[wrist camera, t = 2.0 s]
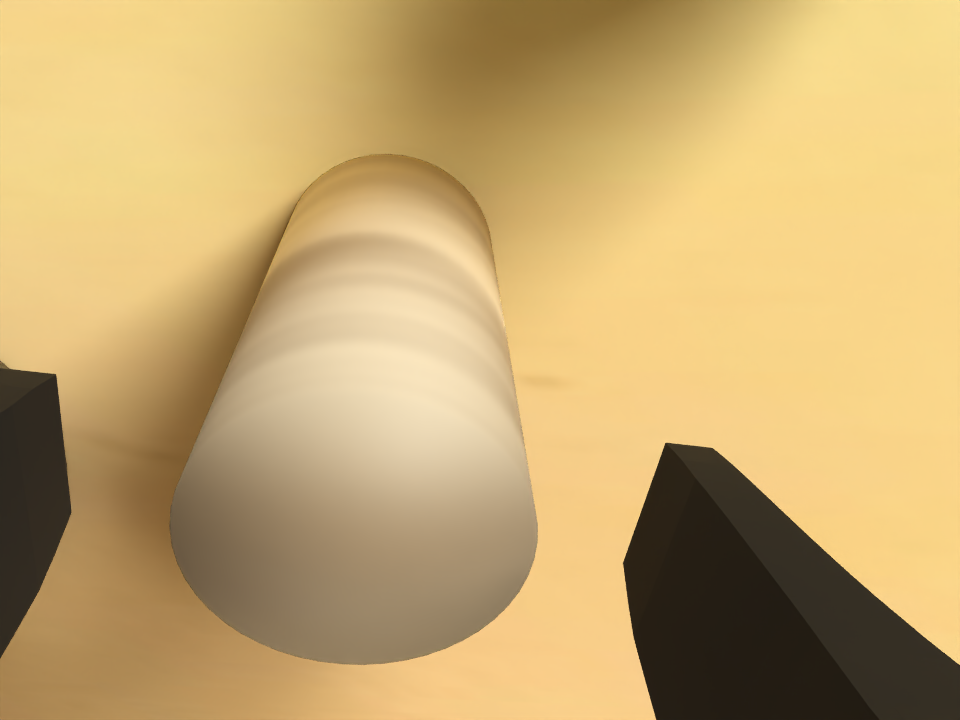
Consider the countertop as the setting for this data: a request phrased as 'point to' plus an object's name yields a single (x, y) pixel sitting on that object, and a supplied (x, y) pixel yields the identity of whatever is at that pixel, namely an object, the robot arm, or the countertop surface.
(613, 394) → the countertop surface
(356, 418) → the beige banded cylinder
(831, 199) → the countertop surface
